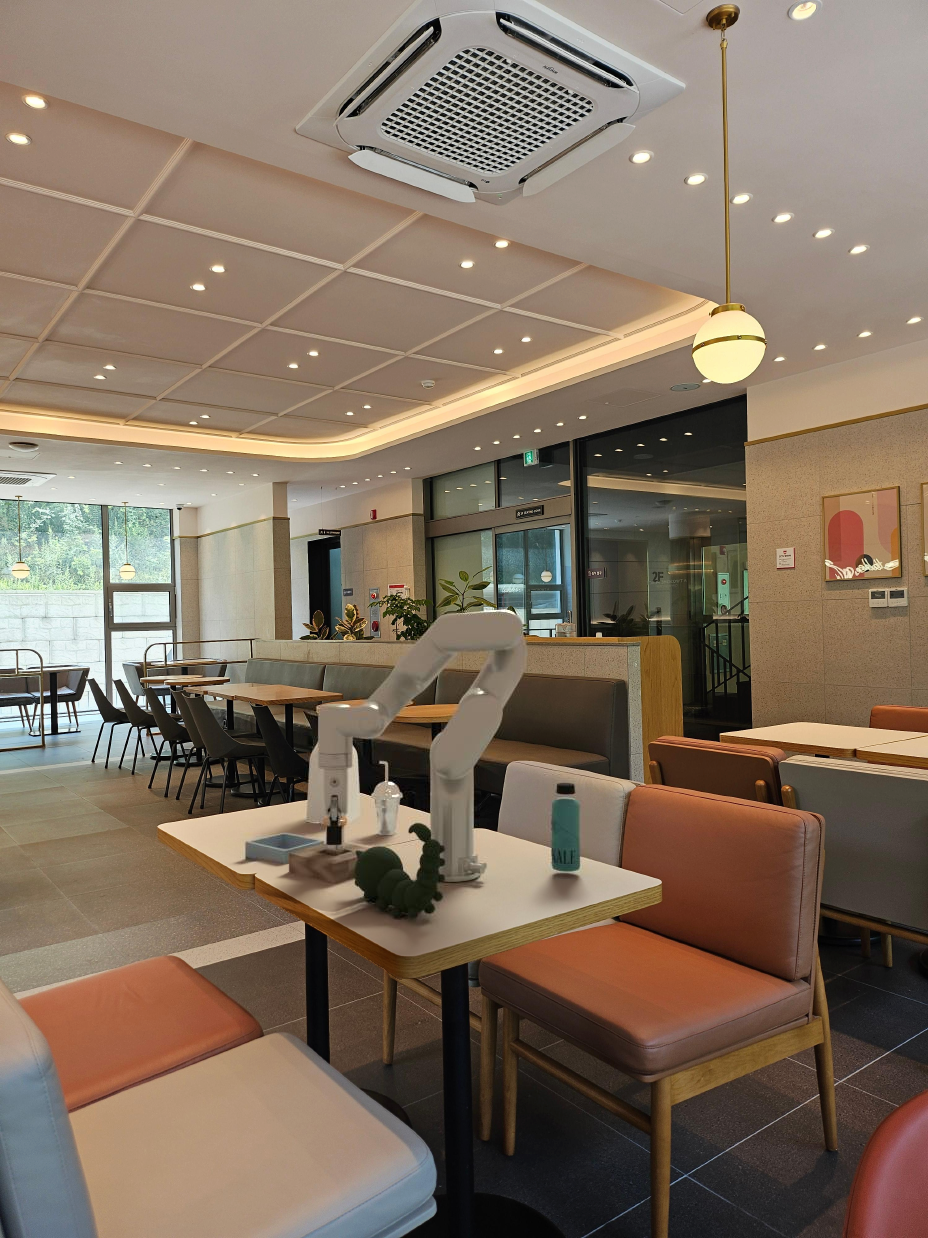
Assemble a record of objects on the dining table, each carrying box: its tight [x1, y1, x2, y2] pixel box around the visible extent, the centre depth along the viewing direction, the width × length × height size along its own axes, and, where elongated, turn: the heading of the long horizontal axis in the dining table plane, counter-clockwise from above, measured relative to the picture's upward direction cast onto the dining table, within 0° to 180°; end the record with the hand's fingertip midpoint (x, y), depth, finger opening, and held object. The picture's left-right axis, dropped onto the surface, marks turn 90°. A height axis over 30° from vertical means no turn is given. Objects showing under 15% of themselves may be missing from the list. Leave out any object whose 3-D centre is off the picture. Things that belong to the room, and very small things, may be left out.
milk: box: [305, 742, 362, 824], centre depth 238 cm, size 12×12×26 cm
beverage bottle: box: [550, 782, 581, 873], centre depth 181 cm, size 6×7×20 cm
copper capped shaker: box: [322, 817, 348, 856], centre depth 181 cm, size 5×5×11 cm
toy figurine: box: [354, 822, 445, 919], centre depth 158 cm, size 9×19×25 cm
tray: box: [244, 832, 325, 865], centre depth 195 cm, size 14×12×4 cm
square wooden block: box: [288, 842, 370, 884], centre depth 181 cm, size 14×14×5 cm
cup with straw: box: [370, 760, 404, 836], centre depth 220 cm, size 8×9×20 cm
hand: (334, 839), depth 181 cm, fingers open, 9 cm apart
